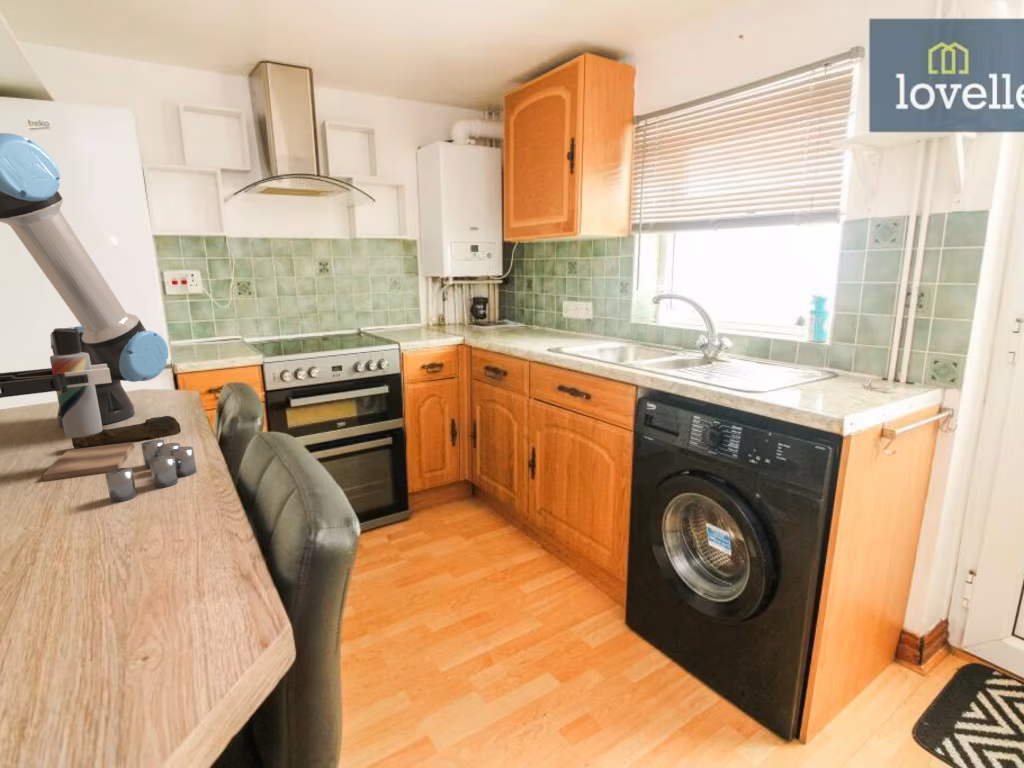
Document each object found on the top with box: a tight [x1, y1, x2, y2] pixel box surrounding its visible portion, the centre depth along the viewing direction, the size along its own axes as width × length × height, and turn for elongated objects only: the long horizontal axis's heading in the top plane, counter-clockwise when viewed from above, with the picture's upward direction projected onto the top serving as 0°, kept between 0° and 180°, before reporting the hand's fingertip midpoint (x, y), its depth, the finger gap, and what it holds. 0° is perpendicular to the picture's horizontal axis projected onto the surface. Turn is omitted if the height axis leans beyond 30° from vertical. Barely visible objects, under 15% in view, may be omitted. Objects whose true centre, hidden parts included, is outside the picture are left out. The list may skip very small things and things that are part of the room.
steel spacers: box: [104, 439, 197, 503], centre depth 97 cm, size 18×12×4 cm, turn 24°
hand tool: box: [71, 415, 182, 449], centre depth 116 cm, size 19×4×5 cm, turn 122°
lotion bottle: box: [49, 327, 103, 439], centre depth 101 cm, size 6×6×20 cm
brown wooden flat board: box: [42, 441, 135, 482], centre depth 104 cm, size 14×11×1 cm
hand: (108, 372), depth 104 cm, fingers closed on lotion bottle, 5 cm apart
